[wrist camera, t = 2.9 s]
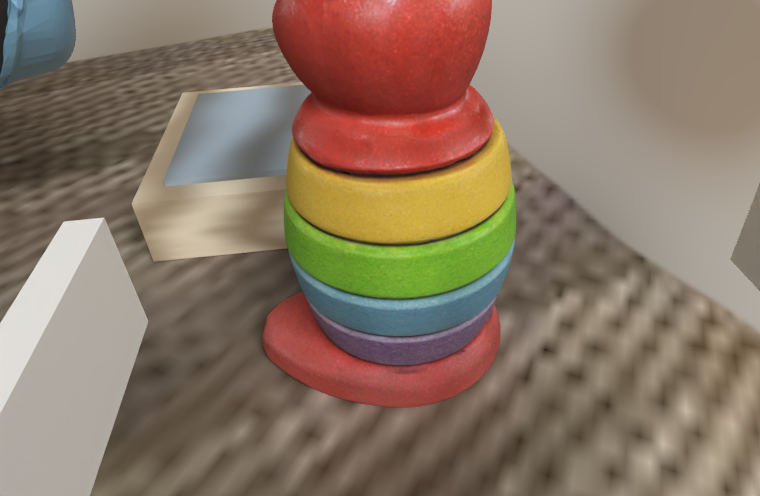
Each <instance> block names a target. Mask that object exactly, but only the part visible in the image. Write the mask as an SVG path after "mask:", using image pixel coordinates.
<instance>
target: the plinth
mask: <svg viewBox="0 0 760 496" xmlns="http://www.w3.org/2000/svg"><path fill="white" fill-rule="evenodd" d="M311 93H312V92H311V91H310V90H309V89H307V88H306V86H305V85H304V84H303V83H302V82H299V83H288V84H276V85H265V86H254V87H243V88H231V89H220V90H209V91H198V92H187V93H182V96H181V98H180V100H179V102H178V104H177V106H176V109H175V111H174V113H173V115H172V117H171V119H170V122H169V124H168V126H167V128H166V130H165V132H164V135H163V137H162V139H161V141H160V143H159V145H158V148H157V150H156V152H155V154H154V156H153V158H152V161H151V163H150V165H149V167H148V169H147V171H146V174H145V176H144V178H143V180H142V182H141V184H140V187H139V189H138V191H137V193H136V195H135V197H134V200H133V202H132V206H133V209H134V212H135V214H136V217H137V219H138V222H139V225H140V227H141V230H142V232H143V235H144V238H145V240H146V243H147V245H148V248H149V251H150V253H151V256H152V258H153V261H154V262H156V261H166V260H176V259H186V258H196V257H206V256H216V255H227V254H237V253H247V252H257V251H267V250H277V249H287V248H288V247H287V244H286V240H285V233H284V196H285V190H286V187H287V186H286V179H287V163H288V154H289V147H290V143H291V139H292V137H293V135H292V123H293V120H294V117H295V115H296V113H297V111H298V110H299V108H300V106H301V104H302V103H303V101H304V100H305V99H306V97H307V96H308V95H309V94H311Z"/></svg>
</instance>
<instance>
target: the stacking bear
mask: <svg viewBox="0 0 760 496" xmlns="http://www.w3.org/2000/svg"><path fill="white" fill-rule="evenodd" d="M491 8H492V0H277V1H276V4H275V6H274V10H273V16H272V23H273V30H274V34H275V37H276V40H277V42H278V45H279V47H280V49H281V52H282V54H283V55H284V57H285V59H286V60H287V62H288V64H289V65H290V67H291V69H292V70H293V71H294V73H295V74H296V76H297V77H298V78H299V79H300V81H301V82H302V83H303V84H304V85H305V86H306V88H307V89H309V90H310V91H311V92H312V93H311V94H309V95H308V96H307V97H306V99H305V100H304V101H303V103H302V104H301V106H300V108H299V110H298V111H297V113H296V115H295V117H294V120H293V123H292V135H293V137H292V139H291V143H290V147H289V154H288V163H287V179H286V186H287V187H286V190H285V196H284V233H285V240H286V244H287V247H288V250H289V255H290V259H291V262H292V266H293V268H294V271H295V274H296V277H297V279H298V282H299V284H300V287H301V289H302V292H300V293H298V294H295V295H293V296H291V297H289V298H287V299H286V300H284V301H282V302H281V303H280V304H279V305H278V306H276V307H275V308H274V309H273V310H272V311H271V312H270V313H269V314H268V316H267V318H266V320H265V329H264V332H263V347H264V350H265V352H266V354H267V356H268V357H269V358H270V360H272V361H273V362H274V363H275V364H276V365H277V366H278V367H279V368H281V369H282V370H283V371H285V372H286V373H287V374H289V375H290V376H292V377H294V378H295V379H297V380H299V381H300V382H302V383H304V384H306V385H307V386H309V387H311V388H314V389H316V390H318V391H321V392H323V393H326V394H328V395H331V396H334V397H338V398H341V399H345V400H349V401H353V402H357V403H363V404H369V405H377V406H387V407H416V406H423V405H428V404H433V403H436V402H440V401H443V400H446V399H448V398H451V397H453V396H455V395H457V394H459V393H461V392H462V391H464V390H466V389H467V388H469V387H470V386H472V385H473V384H474V383H475V382H476V381H478V380H479V379H480V378H481V377H482V376H483V375H484V374H485V372H486V371H487V370H488V368H489V367H490V365H491V364H492V362H493V360H494V358H495V356H496V354H497V351H498V347H499V343H500V323H499V317H498V312H497V309H496V306H495V302H496V299H497V296H498V293H499V291H500V289H501V287H502V285H503V283H504V280H505V277H506V274H507V271H508V268H509V265H510V261H511V258H512V254H513V250H514V237H515V232H516V202H515V192H514V186H513V183H512V176H511V165H510V157H509V152H508V146H507V142H506V138H505V134H504V132H503V129H502V127H501V125H500V123H499V122H498V121H497V120H496V118H495V117H493V114H492V112H491V110H490V108H489V106H488V104H487V103H486V102H485V100H484V99H483V98H482V96H481V95H480V94H479V93H478V92H477V91H476V90H475V89H474V88H473V87H472V86H470V85H469V84H470V82H471V80H472V78H473V76H474V74H475V71H476V69H477V67H478V65H479V62H480V59H481V57H482V54H483V51H484V47H485V43H486V40H487V35H488V31H489V26H490V20H491Z"/></svg>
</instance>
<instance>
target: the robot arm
mask: <svg viewBox="0 0 760 496" xmlns="http://www.w3.org/2000/svg"><path fill="white" fill-rule="evenodd" d="M75 38H76V29H75V18H74V12H73V5H72V0H0V90H1V89H2V88H4V87H5V86H6V85H7V84H8V83H11V82H15V81H19V80H22V79H26V78H30V77H34V76H37V75H41V74H45V73H48V72H52V71H54V70H56V69H58V68H60V67H62V66H63V65H64V64H65V63H66V62H67V61H68V59H69V58H70V56H71V54H72V52H73V50H74V46H75V40H76V39H75ZM731 260H732V261H733V263H734V264H735V265H736V266H737V267H738V268H739V269H740V270H741V271H742V272H743V273H744V275H745V276H746V277H747V278H748V279H749V280H750V281H751V282H752V283H753V284H754V285H755V286H756V287H757V288H758V290H760V184H759V187H758V189H757V192H756V194H755V197H754V200H753V202H752V205H751V207H750V210H749V213H748V215H747V218H746V220H745V223H744V226H743V228H742V231H741V233H740V236H739V239H738V241H737V244H736V246H735V249H734V252H733V254H732V257H731ZM147 324H148V319H147V317H146V315H145V312H144V310H143V308H142V305H141V303H140V301H139V298H138V296H137V293H136V291H135V289H134V286H133V284H132V282H131V279H130V277H129V275H128V272H127V270H126V268H125V265H124V263H123V261H122V258H121V256H120V254H119V251H118V249H117V246H116V244H115V242H114V239H113V237H112V235H111V232H110V230H109V228H108V225H107V223H106V221H105V218H96V219H86V220H76V221H66V222H63V224H62V225H61V227H60V229H59V230H58V232H57V233H56V235H55V237H54V238H53V240H52V241H51V243H50V245H49V246H48V248H47V249H46V251H45V253H44V254H43V256H42V257H41V259H40V261H39V262H38V264H37V265H36V267H35V269H34V270H33V272H32V273H31V275H30V277H29V278H28V280H27V281H26V283H25V285H24V286H23V288H22V289H21V291H20V293H19V294H18V296H17V297H16V299H15V301H14V302H13V304H12V305H11V307H10V309H9V310H8V312H7V313H6V315H5V317H4V318H3V320H2V321H1V323H0V496H90V494H91V491H92V488H93V485H94V482H95V479H96V476H97V473H98V470H99V467H100V464H101V461H102V458H103V455H104V452H105V449H106V446H107V443H108V440H109V437H110V434H111V431H112V428H113V425H114V422H115V419H116V416H117V413H118V410H119V407H120V404H121V401H122V398H123V395H124V392H125V389H126V386H127V383H128V380H129V377H130V374H131V371H132V368H133V365H134V362H135V359H136V357H137V354H138V351H139V348H140V345H141V342H142V339H143V336H144V333H145V330H146V327H147Z"/></svg>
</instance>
